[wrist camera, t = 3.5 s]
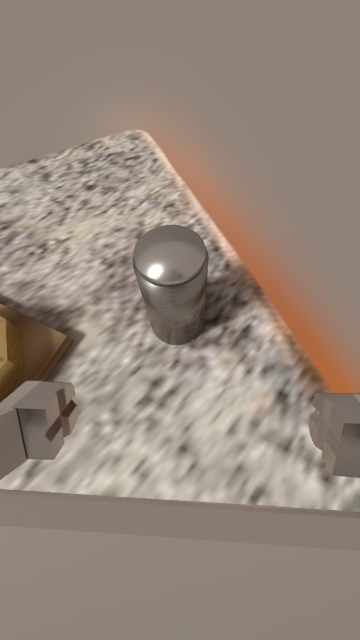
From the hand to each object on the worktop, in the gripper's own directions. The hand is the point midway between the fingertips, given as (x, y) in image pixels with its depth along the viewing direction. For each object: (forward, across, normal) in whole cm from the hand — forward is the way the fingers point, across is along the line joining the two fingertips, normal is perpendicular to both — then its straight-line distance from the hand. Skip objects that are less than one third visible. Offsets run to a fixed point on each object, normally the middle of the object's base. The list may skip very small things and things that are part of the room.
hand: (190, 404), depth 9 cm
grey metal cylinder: (+16, +2, +2) cm, 17 cm away
